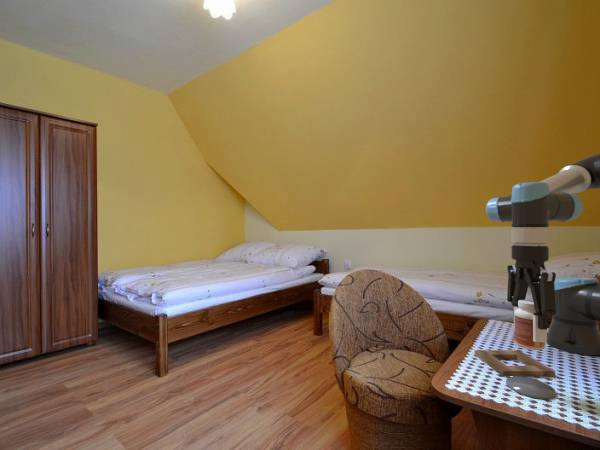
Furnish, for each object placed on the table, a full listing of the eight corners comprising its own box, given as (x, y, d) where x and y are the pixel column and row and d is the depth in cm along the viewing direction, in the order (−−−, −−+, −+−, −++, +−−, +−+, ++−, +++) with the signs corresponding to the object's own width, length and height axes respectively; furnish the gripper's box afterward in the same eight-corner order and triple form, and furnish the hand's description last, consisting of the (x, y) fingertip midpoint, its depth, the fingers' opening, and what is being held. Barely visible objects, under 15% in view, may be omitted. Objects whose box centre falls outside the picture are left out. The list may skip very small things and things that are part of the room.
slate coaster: (535, 378, 83) (535, 376, 83) (566, 399, 73) (566, 397, 73) (497, 378, 83) (497, 376, 83) (523, 399, 73) (523, 396, 73)
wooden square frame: (519, 355, 98) (519, 350, 98) (555, 376, 84) (555, 371, 84) (474, 354, 98) (474, 350, 98) (502, 376, 84) (502, 371, 84)
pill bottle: (538, 353, 74) (538, 306, 74) (509, 344, 79) (510, 301, 79) (549, 347, 77) (549, 302, 77) (520, 339, 83) (520, 297, 83)
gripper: (578, 247, 69) (578, 352, 69) (518, 242, 88) (518, 324, 88) (543, 247, 69) (543, 352, 69) (491, 242, 88) (491, 324, 88)
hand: (529, 336), depth 78 cm, fingers closed on pill bottle, 6 cm apart
